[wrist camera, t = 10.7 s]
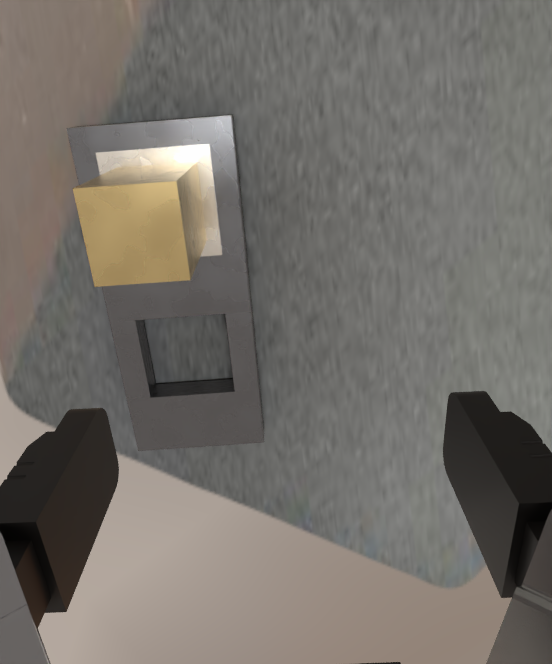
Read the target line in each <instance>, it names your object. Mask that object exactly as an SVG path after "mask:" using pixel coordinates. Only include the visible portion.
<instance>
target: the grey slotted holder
mask: <svg viewBox="0 0 552 664" xmlns="http://www.w3.org/2000/svg"><path fill="white" fill-rule="evenodd" d="M67 133H68V137H69V142H70V146H71V151H72V155H73V160H74V164H75V169H76V173H77V178H78V182H79V185H81V184H83V183H85V182H87V181H90V180H92V179H94V178H96V177H98V176H100V175H102V174H104V173H106V172H108V171H111V170H113V169H115V168H118V167H132V166H145V165H159V164H173V163H187V162H197V166H198V174H199V182H200V190H201V198H202V206H203V214H204V222H205V230H206V238H207V242H206V244H205V247H204V249H203V251H202V254H201V256H200V259H199V261H198V263H197V266H196V268H195V271H194V273H193V275H192V278H191V280H187V281H172V282H158V283H143V284H129V285H114V286H102V290H103V294H104V299H105V303H106V308H107V312H108V317H109V321H110V326H111V330H112V335H113V339H114V344H115V348H116V352H117V357H118V361H119V366H120V370H121V375H122V379H123V384H124V388H125V393H126V397H127V402H128V406H129V411H130V415H131V420H132V424H133V429H134V433H135V438H136V442H137V447H138V451H144V450H159V449H174V448H188V447H203V446H218V445H232V444H247V443H261V442H264V424H263V414H262V404H261V393H260V383H259V373H258V363H257V353H256V342H255V332H254V322H253V312H252V301H251V291H250V281H249V271H248V261H247V250H246V240H245V230H244V220H243V210H242V199H241V189H240V179H239V169H238V159H237V148H236V138H235V128H234V118H233V114H231V115H218V116H205V117H193V118H180V119H167V120H155V121H142V122H129V123H116V124H104V125H91V126H78V127H72V128H67ZM214 314H225V316H226V324H227V332H228V340H229V349H230V357H231V365H232V373H233V379H225V380H211V381H197V382H183V383H168V384H156V383H155V378H154V373H153V368H152V363H151V357H150V352H149V347H148V342H147V337H146V332H145V326H144V321H143V320H145V319H159V318H173V317H187V316H200V315H214Z"/></svg>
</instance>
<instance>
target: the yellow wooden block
mask: <svg viewBox="0 0 552 664" xmlns="http://www.w3.org/2000/svg"><path fill="white" fill-rule="evenodd" d="M73 192H74V196H75V201H76V205H77V210H78V214H79V219H80V223H81V228H82V232H83V237H84V241H85V246H86V250H87V255H88V259H89V263H90V268H91V272H92V277H93V281H94V286H95V287H100V286H114V285H129V284H143V283H158V282H172V281H187V280H191V278H192V275H193V273H194V271H195V268H196V266H197V263H198V261H199V259H200V256H201V254H202V251H203V249H204V247H205V244H206V242H207V238H206V230H205V222H204V214H203V206H202V198H201V190H200V182H199V174H198V166H197V162H187V163H173V164H159V165H145V166H132V167H118V168H115V169H113V170H111V171H108V172H106V173H104V174H102V175H100V176H98V177H96V178H94V179H92V180H90V181H87V182H85V183H83V184H81V185H79V186H77V187H75V188H73Z"/></svg>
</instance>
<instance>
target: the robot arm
mask: <svg viewBox="0 0 552 664" xmlns="http://www.w3.org/2000/svg"><path fill="white" fill-rule="evenodd" d="M443 458H444V465H445V469H446V473H447V475H448V478H449V480H450V482H451V484H452V487H453V489H454V491H455V494H456V496H457V498H458V500H459V503H460V505H461V507H462V510H463V512H464V514H465V516H466V519H467V521H468V523H469V525H470V528H471V530H472V532H473V535H474V537H475V539H476V541H477V544H478V546H479V548H480V550H481V553H482V555H483V557H484V560H485V562H486V564H487V566H488V569H489V571H490V573H491V575H492V578H493V580H494V582H495V585H496V587H497V589H498V591H499V594H500V596H501V598H507V597H512V599H511V602H510V604H509V607H508V610H507V612H506V615H505V617H504V620H503V622H502V625H501V627H500V630H499V632H498V635H497V638H496V640H495V643H494V645H493V648H492V650H491V653H490V655H489V658H488V661H487V663H486V664H552V453H551V451H550V450H549V449H548V447H547V446H546V445H545V444H543V443H542V439H541V438H540V437H539V435H538V434H537V433H536V431H535V430H534V429H533V427H532V426H531V425H530V424H529V423H527V422H526V421H524V420H523V419H521V418H520V417H518V416H517V415H515V414H514V413H512V412H500V411H499V409H498V408H497V407H496V405H495V404H494V402H493V401H492V399H491V398H490V396H489V395H488V394H487V392H485V391H474V392H453V393H451V394H450V395H449V398H448V404H447V414H446V424H445V434H444V444H443ZM118 474H119V467H118V459H117V455H116V450H115V446H114V442H113V437H112V433H111V429H110V425H109V420H108V416H107V413H106V411H105V410H104V409H103V408H91V409H71V410H69V411H68V412H67V413H66V414H65V416H64V418H63V419H62V421H61V422H60V424H59V425H58V427H57V428H56V430H55V432H46V433H45V434H43V435H42V436H41V437H39V438H38V439H37V440H35V441H34V442H33V443H32V444H30V445H29V446H28V447H27V448H26V450H25V451H24V453H23V454H22V456H21V457H20V459H19V460H18V461H17V466H14V467H13V469H12V470H11V472H10V473H9V475H8V476H7V479H6V480H4V482H3V483H2V485H1V486H0V664H50V661H49V658H48V656H47V653H46V650H45V647H44V644H43V642H42V639H41V637H40V634H39V631H38V626H39V624H40V622H41V619H42V617H43V615H44V613H50V612H66V611H67V609H68V606H69V604H70V601H71V599H72V597H73V594H74V592H75V589H76V587H77V584H78V582H79V579H80V576H81V574H82V572H83V569H84V567H85V564H86V562H87V559H88V556H89V554H90V552H91V549H92V547H93V544H94V542H95V539H96V537H97V534H98V531H99V529H100V527H101V524H102V521H103V519H104V517H105V514H106V511H107V509H108V507H109V504H110V502H111V499H112V497H113V494H114V492H115V489H116V486H117V482H118ZM362 664H401V663H400V662H393V663H392V662H391V663H362Z"/></svg>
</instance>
